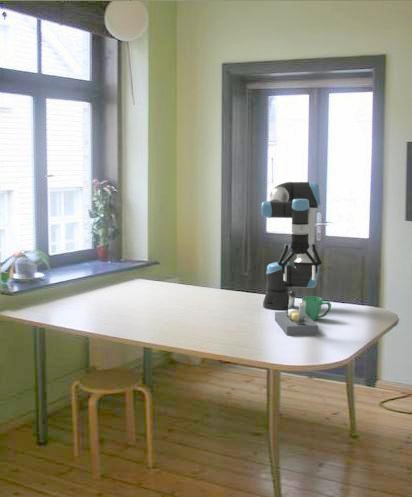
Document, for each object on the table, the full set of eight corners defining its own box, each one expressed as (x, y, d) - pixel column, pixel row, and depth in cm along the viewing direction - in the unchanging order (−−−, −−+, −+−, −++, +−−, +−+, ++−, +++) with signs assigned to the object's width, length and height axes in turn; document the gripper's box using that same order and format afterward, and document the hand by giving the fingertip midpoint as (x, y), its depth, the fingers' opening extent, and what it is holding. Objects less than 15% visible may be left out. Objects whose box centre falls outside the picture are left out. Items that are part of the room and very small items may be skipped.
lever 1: (286, 309, 344) (288, 289, 338) (293, 309, 344) (295, 289, 339) (288, 312, 341) (290, 293, 336) (294, 312, 341) (296, 292, 336)
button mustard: (290, 321, 331) (290, 312, 331) (301, 320, 332) (301, 312, 331) (292, 323, 326) (293, 315, 326) (303, 323, 327) (303, 314, 326)
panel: (274, 320, 345) (274, 311, 345) (303, 319, 347) (303, 310, 346) (286, 335, 318) (287, 325, 317) (318, 334, 319) (318, 325, 319)
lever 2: (296, 319, 323) (298, 299, 318) (303, 319, 323) (305, 298, 318) (298, 323, 320) (300, 302, 315) (304, 323, 321) (307, 302, 315)
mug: (298, 319, 347) (298, 299, 345) (306, 315, 355) (307, 295, 353) (326, 323, 339) (327, 302, 337) (334, 319, 347) (335, 299, 345)
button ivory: (287, 317, 339) (287, 309, 338) (297, 317, 339) (297, 308, 338) (289, 319, 334) (289, 311, 333) (300, 319, 334) (300, 311, 334)
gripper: (274, 234, 318) (274, 282, 321) (329, 234, 321) (328, 281, 324) (271, 232, 325) (270, 279, 328) (324, 232, 328) (323, 278, 331)
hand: (299, 280), depth 326 cm, fingers open, 12 cm apart
